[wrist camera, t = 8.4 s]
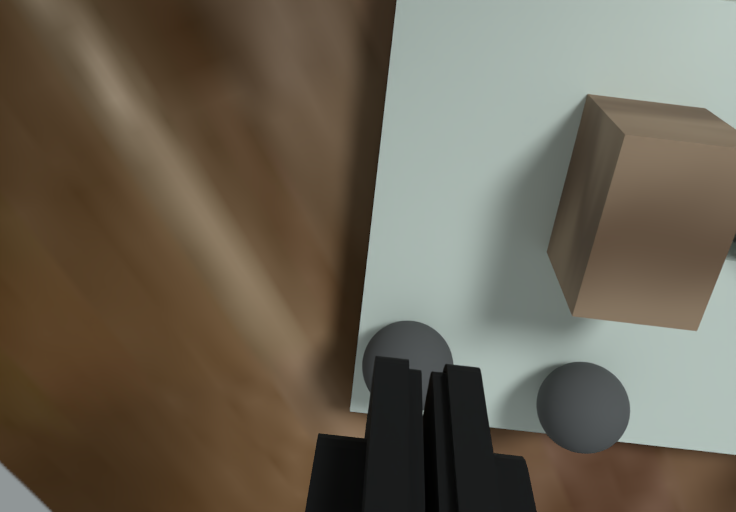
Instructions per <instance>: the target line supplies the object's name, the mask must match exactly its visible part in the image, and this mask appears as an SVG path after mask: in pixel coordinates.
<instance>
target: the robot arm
mask: <svg viewBox="0 0 736 512" xmlns="http://www.w3.org/2000/svg"><path fill="white" fill-rule="evenodd" d="M305 512H537V511H536V506H535V502H534V497H533V492H532V487H531V482H530V477H529V472H528V468H527V465H526V461H525V459H524V458H523V457H522V456H513V455H505V454H496V453H493V447H492V440H491V434H490V427H489V421H488V414H487V407H486V401H485V394H484V387H483V381H482V374H481V370H480V368H479V367H471V366H462V365H453V364H445V366H444V368H443V372H434V371H432V372H431V374H430V378H429V384H428V389H427V395H426V400H425V406H424V412H423V405H422V372H421V370H417V369H409V359H400V358H392V357H383V356H375V361H374V369H373V376H372V384H371V392H370V400H369V407H368V415H367V423H366V430H365V438H355V437H346V436H337V435H328V434H320V433H319V434H318V439H317V444H316V450H315V456H314V462H313V468H312V474H311V480H310V486H309V492H308V498H307V504H306V510H305Z"/></svg>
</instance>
